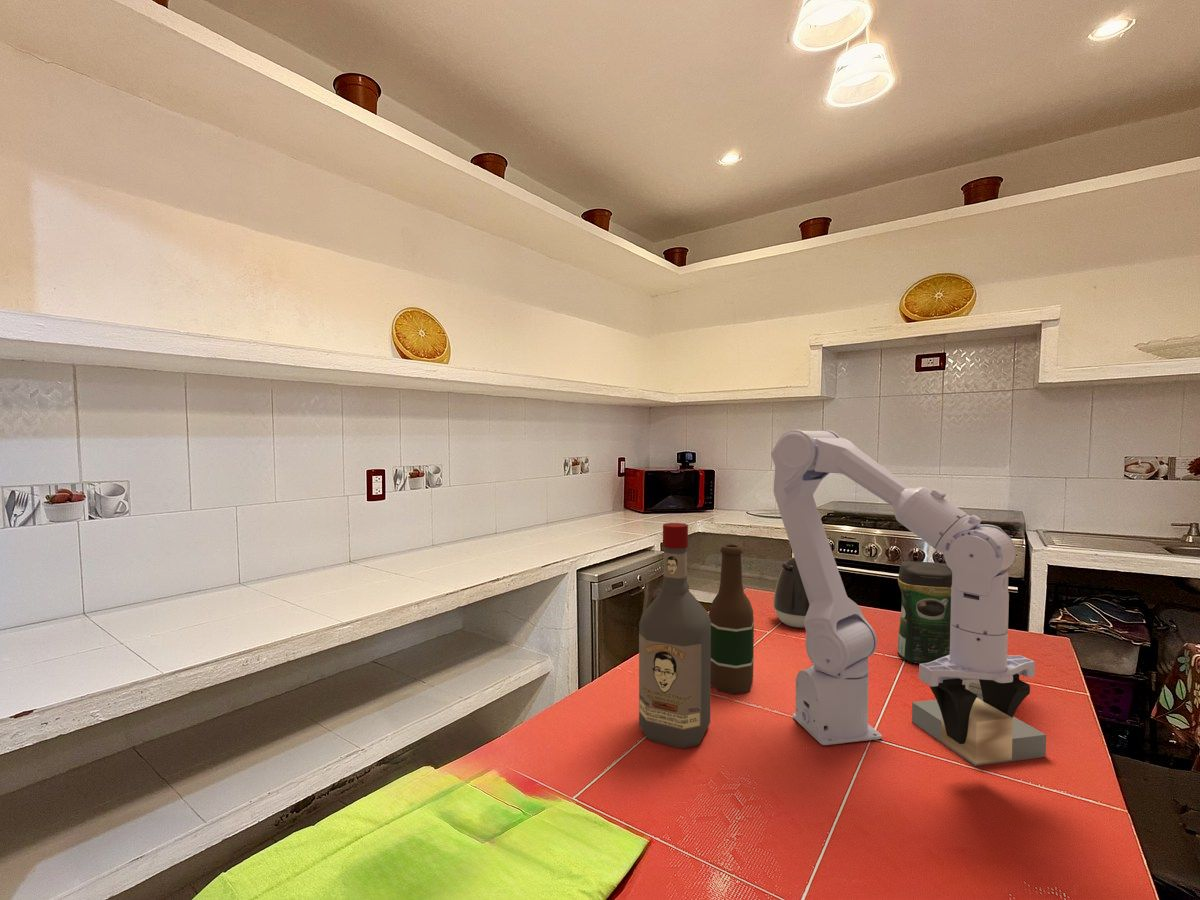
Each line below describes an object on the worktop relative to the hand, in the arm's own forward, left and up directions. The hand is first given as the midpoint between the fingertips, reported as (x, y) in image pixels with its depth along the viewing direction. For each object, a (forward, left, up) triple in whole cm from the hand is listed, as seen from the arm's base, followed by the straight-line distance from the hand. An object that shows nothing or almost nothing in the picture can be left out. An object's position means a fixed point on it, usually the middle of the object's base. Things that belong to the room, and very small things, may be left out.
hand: (975, 737), depth 67 cm
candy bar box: (+20, +19, -6) cm, 28 cm away
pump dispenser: (+9, +56, -6) cm, 57 cm away
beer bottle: (-18, +31, -6) cm, 36 cm away
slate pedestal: (+9, +9, -6) cm, 14 cm away
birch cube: (0, 0, -2) cm, 2 cm away
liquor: (-32, +19, -6) cm, 38 cm away
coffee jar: (+23, +34, -6) cm, 41 cm away
